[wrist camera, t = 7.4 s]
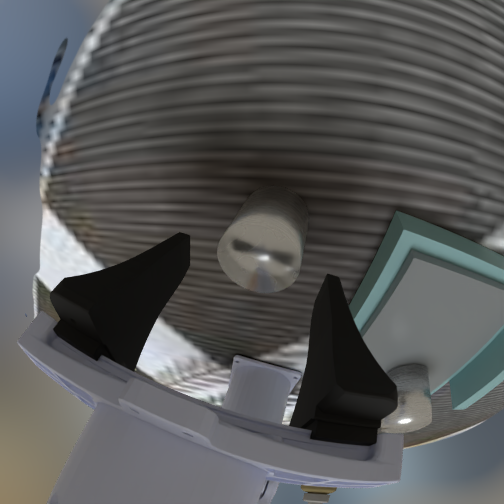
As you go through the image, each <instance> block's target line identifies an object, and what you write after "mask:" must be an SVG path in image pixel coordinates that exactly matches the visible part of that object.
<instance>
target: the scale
mask: <svg viewBox="0 0 504 504" xmlns="http://www.w3.org/2000/svg"><path fill="white" fill-rule="evenodd" d="M411 250H414V251H417V252H420V253H422V254H425V255H428V256H431V257H434V258H437V259H439V260H442V261H445V262H447V263H450V264H453V265H456V266H458V267H461V268H463V269H466V270H469V271H471V272H474V273H476V274H479V275H481V276H484V277H486V278H489V279H491V280H494V281H496V282H499V283H501V284H503V285H504V256H502V255H500V254H498V253H496V252H494V251H492V250H490V249H488V248H486V247H484V246H481V245H479V244H477V243H475V242H473V241H471V240H468V239H466V238H464V237H462V236H459V235H457V234H455V233H452V232H450V231H448V230H445V229H443V228H441V227H438V226H436V225H433V224H431V223H428V222H426V221H423V220H421V219H418V218H415V217H413V216H410V215H407V214H405V213H402V212H399V211H396V212H395V214H394V217H393V219H392V221H391V224H390V226H389V228H388V230H387V232H386V235H385V237H384V239H383V241H382V243H381V245H380V247H379V249H378V252H377V254H376V256H375V258H374V260H373V262H372V264H371V266H370V268H369V270H368V271H367V273H366V275H365V277H364V279H363V281H362V283H361V285H360V287H359V288H358V290H357V292H356V294H355V296H354V298H353V299H352V301H351V303H350V305H349V309H350V311H351V314H352V317H353V319H354V321H355V324H356V326H357V328H358V330H359V332H361V330H362V329H363V328H364V326H365V325H366V323H367V322H368V320H369V319H370V317H371V316H372V314H373V313H374V312H375V310H376V308H377V307H378V305H379V304H380V302H381V301H382V299H383V298H384V296H385V294H386V293H387V291H388V290H389V288H390V286H391V285H392V283H393V281H394V280H395V278H396V276H397V275H398V273H399V271H400V269H401V268H402V266H403V264H404V262H405V261H406V259H407V257H408V255H409V253H410V252H411ZM503 380H504V325H503V326H502V327H501V328H500V329H499V330H498V331H497V333H496V334H495V335H494V336H493V337H492V338H491V339H490V340H489V341H488V342H487V343H486V344H485V345H484V346H483V347H482V348H481V349H480V350H479V351H478V352H477V353H476V354H475V355H474V356H473V357H472V358H471V359H470V360H469V361H468V362H467V363H465V364H464V365H463V366H462V367H461V368H460V369H459V370H458V371H456V372H455V373H454V374H453V375H452V376H451V377H449V378H448V379H447V380H446V381H444V382H443V383H442V384H441V385H439V386H438V387H437V388H436V389H434V390H433V391H432V392H430V393H431V394H433V393H434V392H435V391H437V390H438V389H439V388H441V387H442V386H443V385H444V384H446V383H447V382H448V381H450V389H451V397H452V408H453V409H466V408H467V407H469V406H470V405H472V404H473V403H474V402H476V401H477V400H479V399H480V398H481V397H483V396H484V395H485V394H487V393H488V392H489V391H491V390H492V389H493V388H495V387H496V386H497V385H498V384H499V383H501V382H502V381H503Z"/></svg>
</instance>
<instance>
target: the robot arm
mask: <svg viewBox="0 0 504 504" xmlns="http://www.w3.org/2000/svg"><path fill="white" fill-rule="evenodd" d="M189 266H190V235H187V234H184V233H180V232H179V233H178V234H176V235H174V236H172V237H170V238H169V239H167V240H165V241H163V242H162V243H160V244H158V245H156V246H154V247H153V248H151V249H149V250H147V251H145V252H143V253H141V254H139V255H138V256H136V257H134V258H131V259H129V260H127V261H125V262H122V263H120V264H117V265H115V266H112V267H109V268H106V269H103V270H100V271H96V272H93V273H88V274H84V275H79V276H73V277H67V278H64V279H63V280H62V281H61V282H60V283H59V284H58V285H57V286H56V287H55V288H54V290H53V291H52V292H51V293H50V299H51V302H52V304H53V306H54V308H55V310H56V312H57V314H58V315H59V317H60V321H59V322H58V323H57V322H56V321H55V320H54V319H53V318H52V317H50V316H49V315H47V314H46V313H45V312H43V311H41V312H40V313H39V314H38V315H37V317H36V318H35V319H34V320H33V322H32V323H31V324H30V325H29V327H28V328H27V329H26V330H25V332H24V333H23V334H22V335H21V337H20V338H19V339H18V341H17V343H18V345H19V346H20V347H21V348H22V349H23V351H24V352H25V353H26V354H27V355H28V357H29V358H30V359H31V360H32V361H33V362H34V363H35V364H36V366H37V367H39V368H40V369H41V370H42V371H43V372H45V373H46V374H47V375H48V376H49V377H51V378H52V379H53V380H54V381H56V382H57V383H58V384H59V385H61V386H62V387H63V388H64V389H66V390H67V391H69V392H70V393H71V394H72V395H74V396H75V397H77V398H78V399H79V400H81V401H82V402H84V403H85V404H86V405H88V406H89V407H91V408H92V409H94V411H93V413H92V415H91V417H90V418H89V420H88V422H87V424H86V426H85V427H84V429H83V431H82V433H81V435H80V436H79V438H78V440H77V442H76V444H75V446H74V448H73V450H72V452H71V454H70V455H69V458H68V459H67V461H66V463H65V465H64V467H63V469H62V471H61V474H60V475H59V477H58V479H57V482H56V484H55V486H54V488H53V490H52V493H51V495H50V497H49V499H48V501H47V504H270V503H271V501H272V498H273V496H274V495H275V493H276V490H277V488H278V485H279V482H282V483H290V484H298V485H307V486H320V487H341V488H372V487H378V486H383V485H388V484H393V483H397V482H399V481H400V476H401V467H402V456H403V440H404V435H403V434H392V433H381V434H377V430H378V428H380V427H381V420H382V419H383V418H385V417H387V416H388V415H390V414H391V413H393V412H394V411H395V410H396V409H397V407H398V392H397V386H396V384H395V383H394V382H393V381H392V380H391V379H390V377H389V376H388V375H387V374H386V373H385V372H384V370H383V369H382V368H381V366H380V365H379V364H378V362H377V361H376V359H375V358H374V356H373V355H372V353H371V352H370V350H369V349H368V347H367V345H366V344H365V342H364V340H363V338H362V336H361V334H360V332H359V330H358V328H357V326H356V324H355V321H354V319H353V317H352V314H351V311H350V309H349V306H348V303H347V301H346V298H345V295H344V292H343V288H342V285H341V282H340V279H339V277H337V276H333V275H330V274H327V275H326V278H325V280H324V282H323V285H322V287H321V289H320V291H319V294H318V296H317V298H316V300H315V304H314V309H313V314H312V319H311V329H310V339H309V349H308V357H307V364H306V368H305V372H304V376H303V381H302V384H301V388H300V392H299V396H298V399H297V402H296V406H295V409H294V412H293V415H292V419H291V422H290V425H289V426H287V425H282V420H283V416H284V412H285V408H286V404H287V400H288V396H289V393H290V392H291V391H292V389H293V388H294V386H295V385H296V383H297V382H298V381H299V379H300V378H301V373H300V372H297V371H293V370H289V369H285V368H282V367H278V366H274V365H270V364H267V363H263V362H260V361H256V360H253V359H250V358H246V357H243V356H240V355H235V356H234V359H233V365H232V370H231V376H230V381H229V388H228V391H227V393H226V396H225V399H224V401H223V404H222V407H218V406H215V405H212V404H209V403H206V402H204V401H201V400H198V399H195V398H193V397H190V396H188V395H185V394H183V393H180V392H178V391H175V390H173V389H170V388H168V387H166V386H163V385H161V384H159V383H156V382H154V381H152V380H150V379H148V378H146V377H143V376H141V375H139V374H137V373H135V372H134V371H135V368H136V365H137V362H138V360H139V357H140V355H141V352H142V350H143V347H144V345H145V343H146V340H147V338H148V336H149V334H150V332H151V330H152V328H153V326H154V324H155V322H156V320H157V318H158V316H159V314H160V313H161V311H162V309H163V308H164V306H165V305H166V303H167V302H168V301H169V299H170V298H171V296H172V295H173V293H174V292H175V290H176V289H177V287H178V286H179V284H180V283H181V281H182V280H183V278H184V276H185V274H186V272H187V270H188V268H189Z"/></svg>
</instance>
